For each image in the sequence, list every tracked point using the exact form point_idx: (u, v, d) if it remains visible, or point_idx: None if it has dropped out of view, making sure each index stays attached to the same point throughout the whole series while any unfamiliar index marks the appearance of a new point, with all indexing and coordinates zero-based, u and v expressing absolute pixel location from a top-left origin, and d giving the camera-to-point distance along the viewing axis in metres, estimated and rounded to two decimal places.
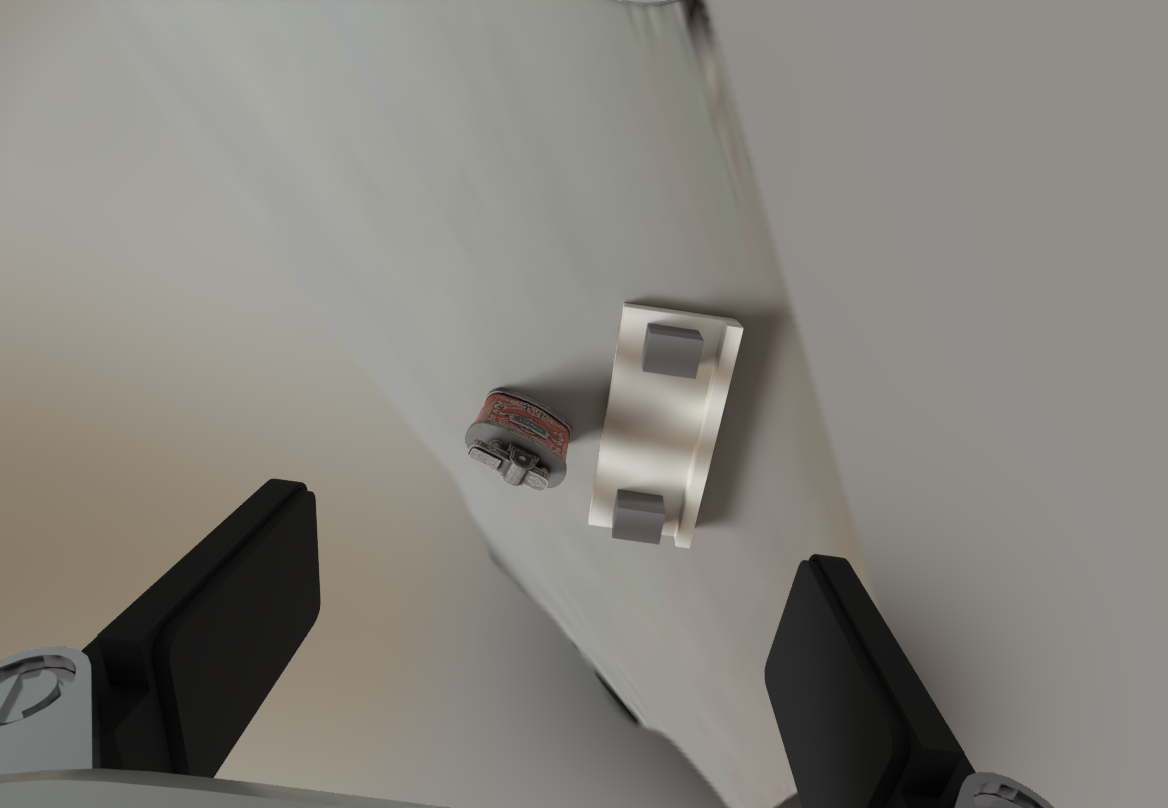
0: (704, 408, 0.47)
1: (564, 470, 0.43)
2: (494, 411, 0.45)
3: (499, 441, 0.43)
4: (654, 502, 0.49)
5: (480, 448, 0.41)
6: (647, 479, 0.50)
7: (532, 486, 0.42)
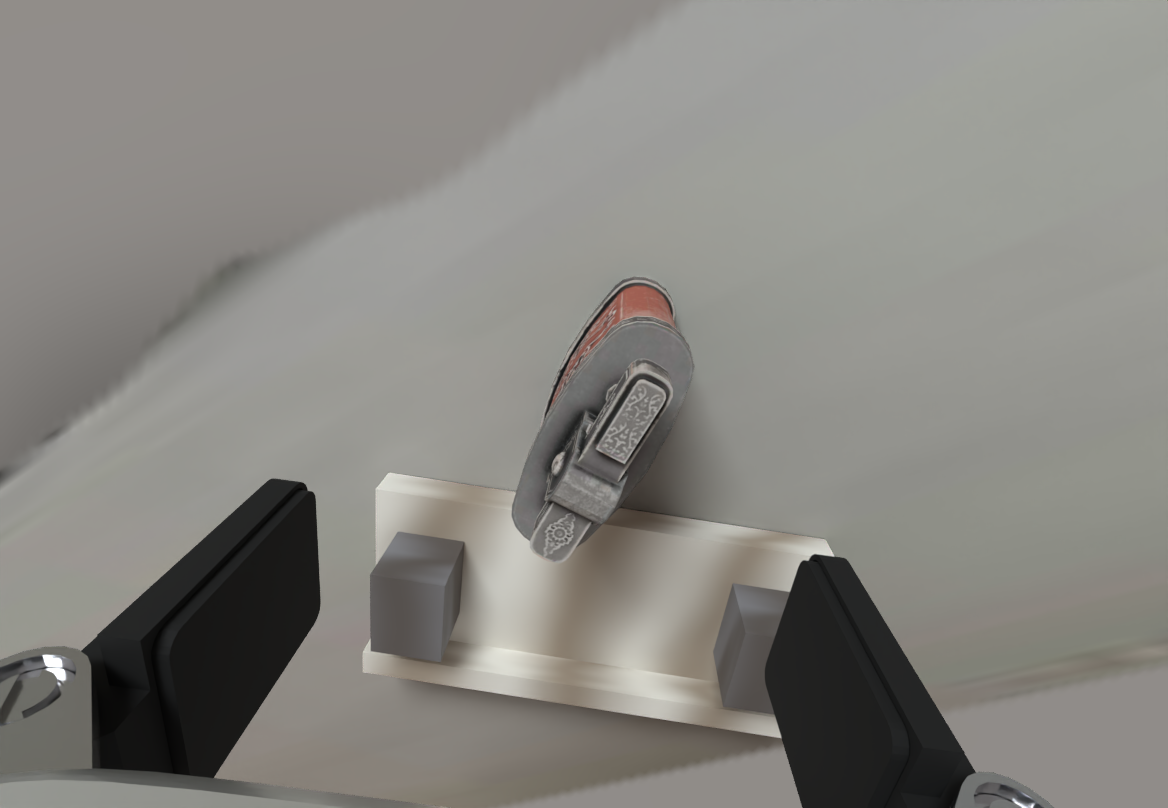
0: (637, 673, 0.28)
1: None
2: None
3: None
4: (452, 620, 0.26)
5: (661, 408, 0.14)
6: (491, 590, 0.27)
7: (544, 527, 0.16)
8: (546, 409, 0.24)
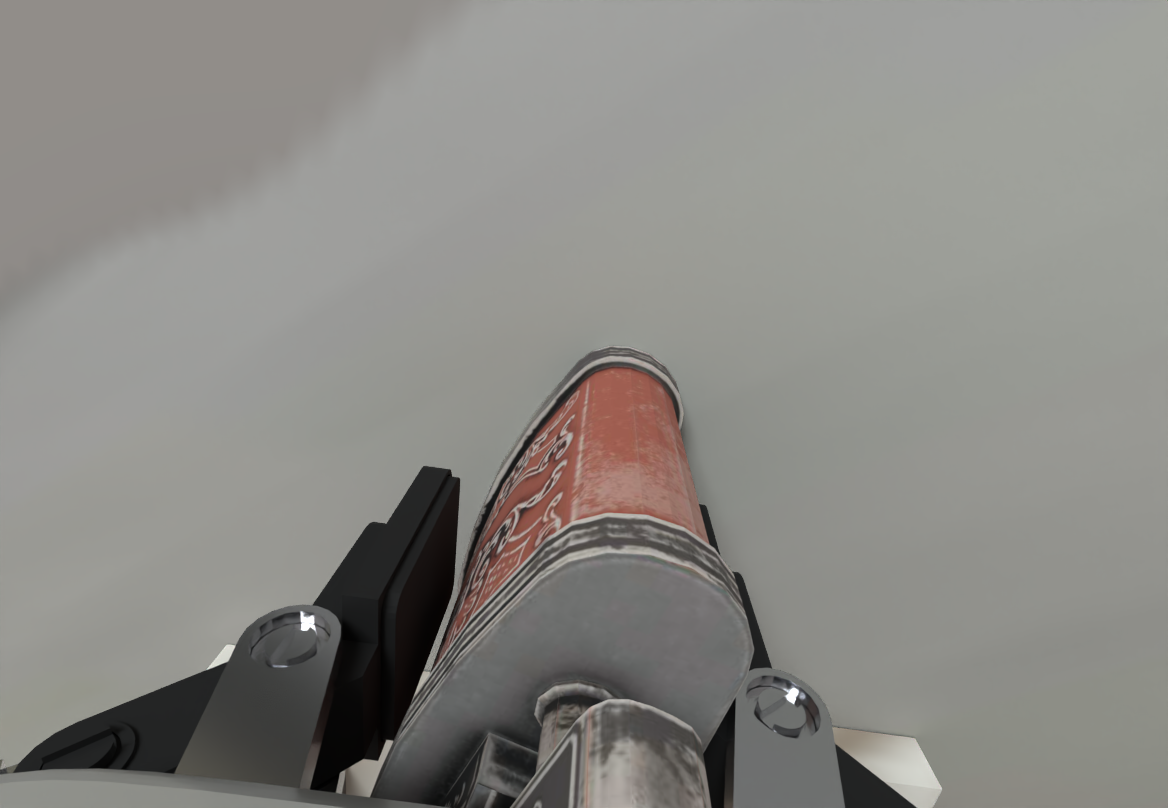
0: None
1: None
2: None
3: None
4: None
5: None
6: None
7: None
8: (465, 564, 0.14)
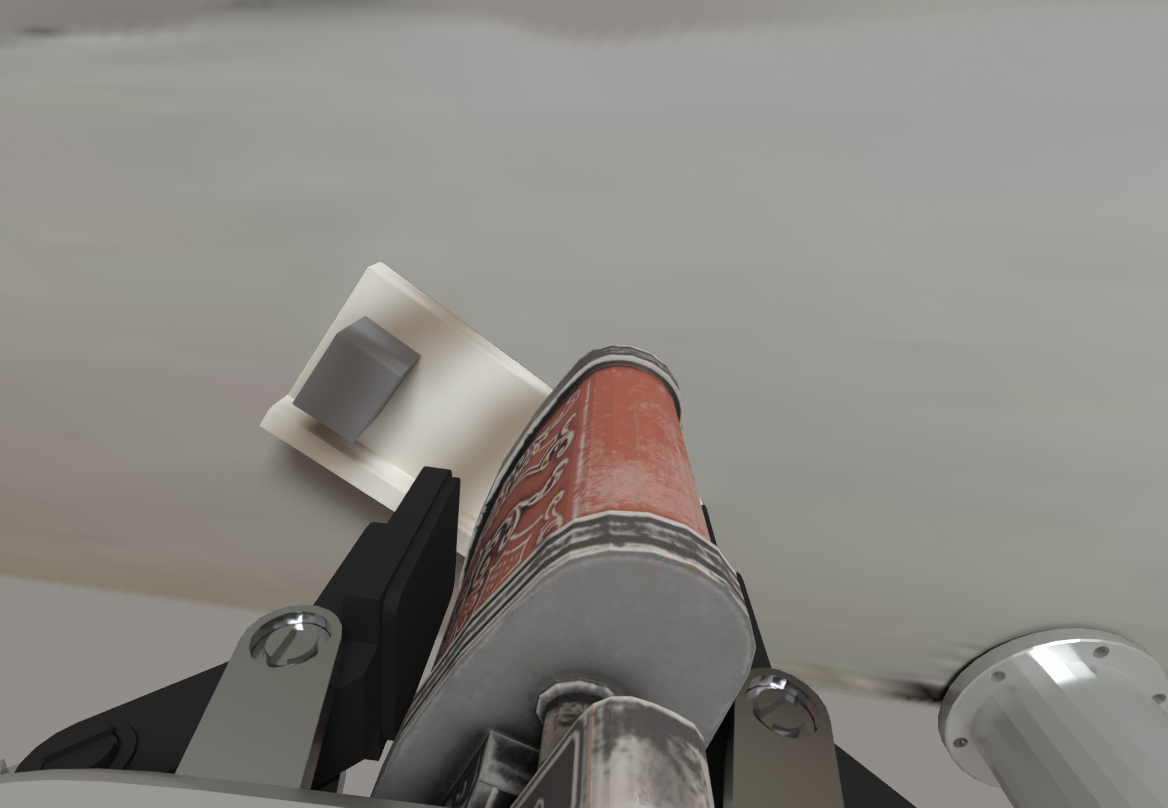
0: None
1: None
2: None
3: None
4: (375, 416, 0.27)
5: None
6: (418, 410, 0.28)
7: None
8: (466, 563, 0.14)
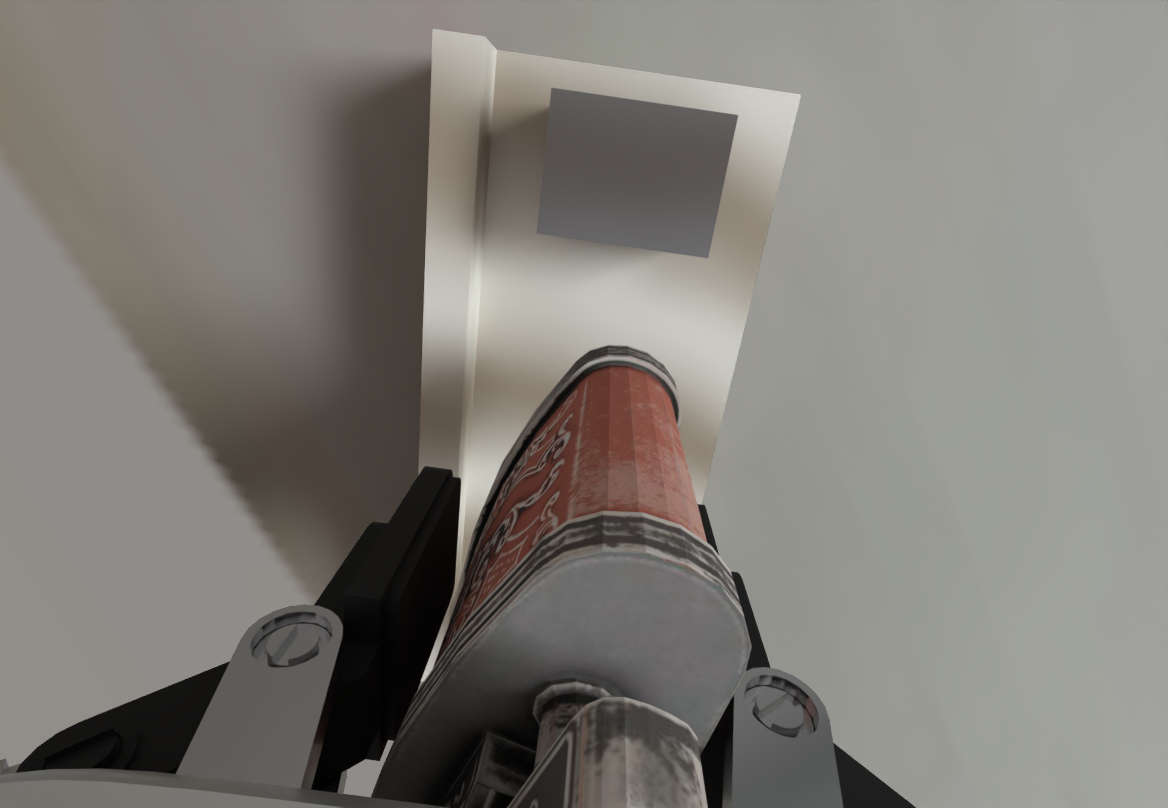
0: (465, 490, 0.19)
1: None
2: None
3: None
4: None
5: None
6: (597, 281, 0.17)
7: None
8: (467, 564, 0.14)
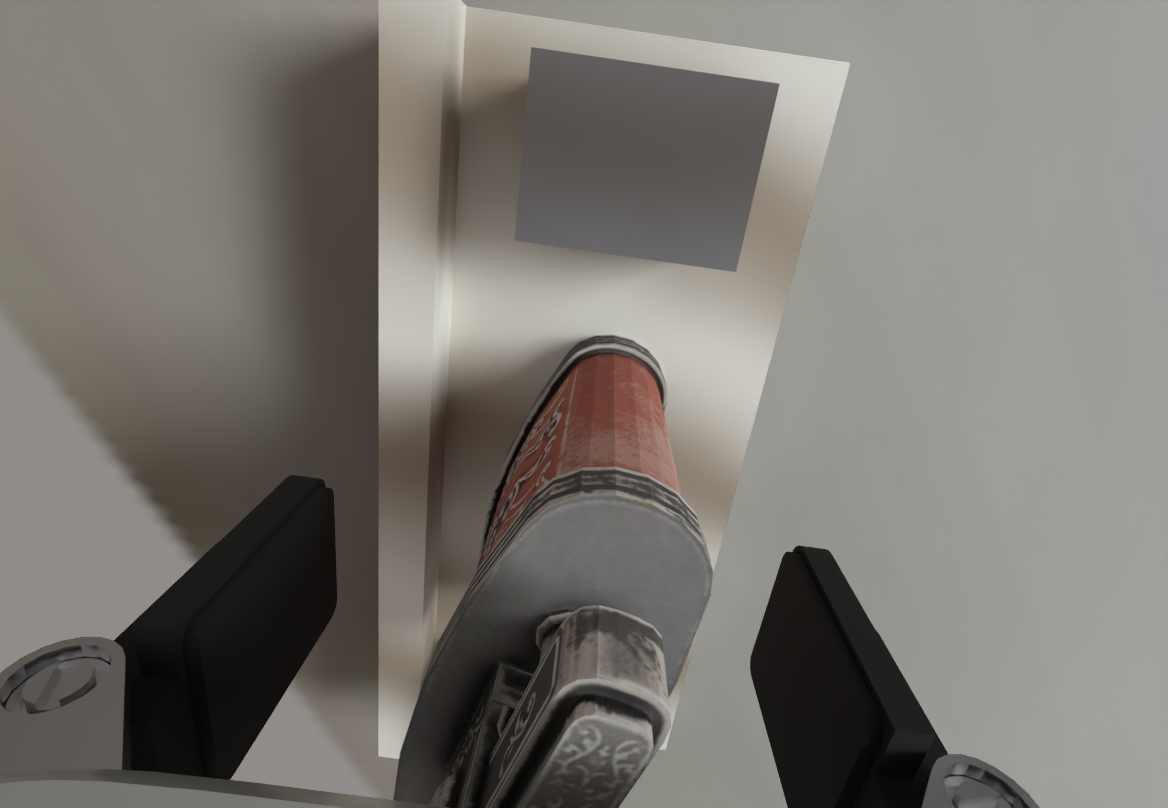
0: (438, 540, 0.16)
1: None
2: None
3: None
4: None
5: None
6: (594, 296, 0.14)
7: None
8: (483, 546, 0.15)
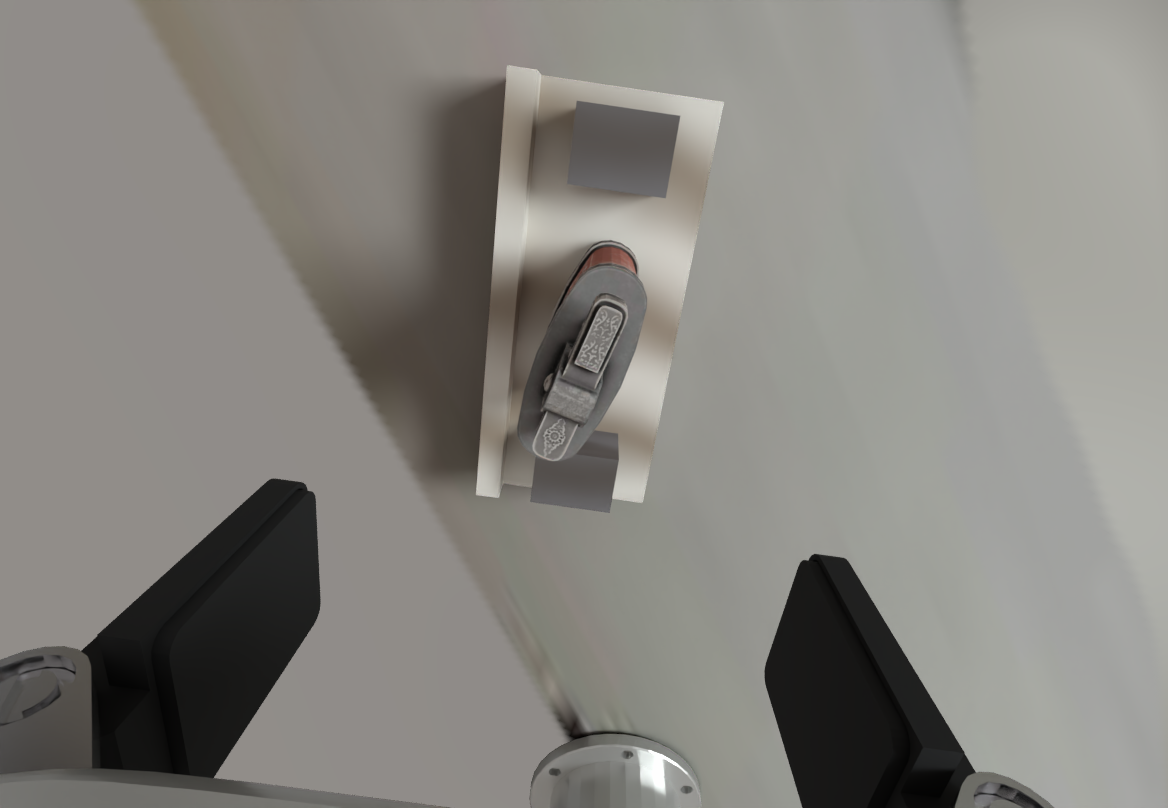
0: (514, 361, 0.29)
1: (559, 458, 0.23)
2: None
3: None
4: None
5: (620, 327, 0.19)
6: (601, 219, 0.27)
7: (542, 432, 0.20)
8: None
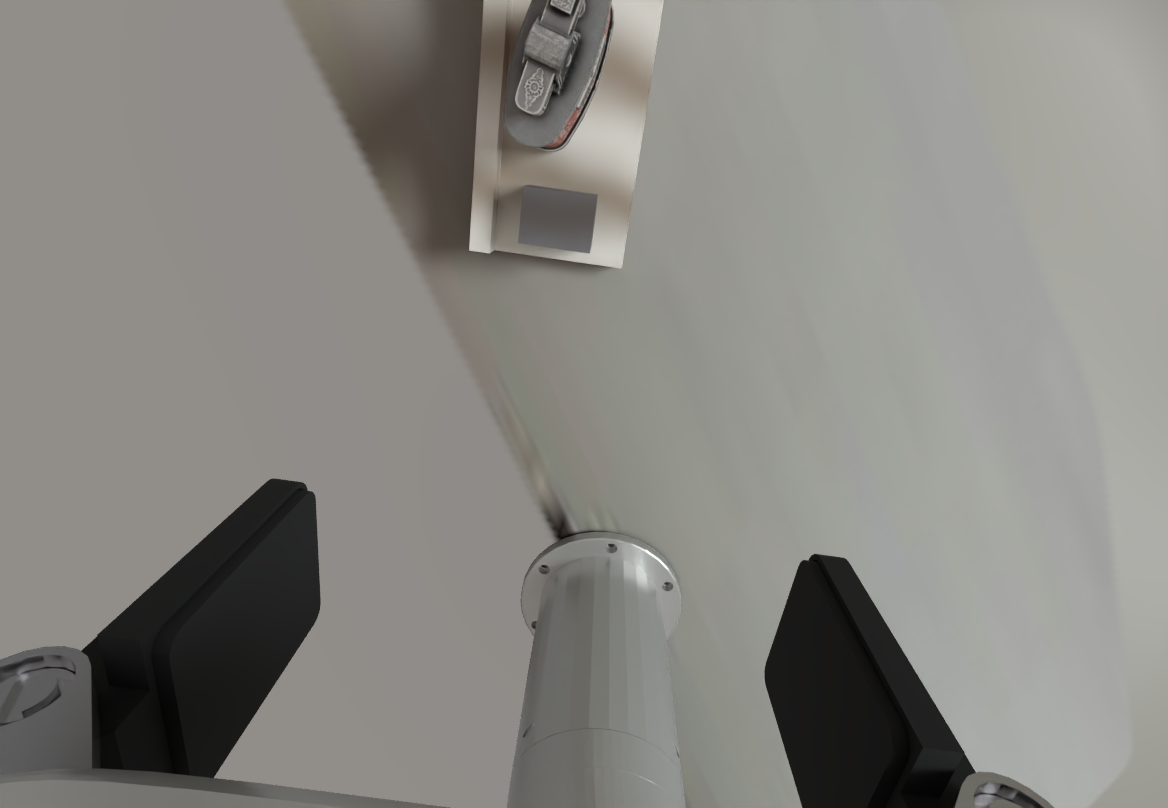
0: None
1: (540, 144, 0.26)
2: None
3: (583, 12, 0.24)
4: None
5: None
6: None
7: (523, 84, 0.23)
8: None
